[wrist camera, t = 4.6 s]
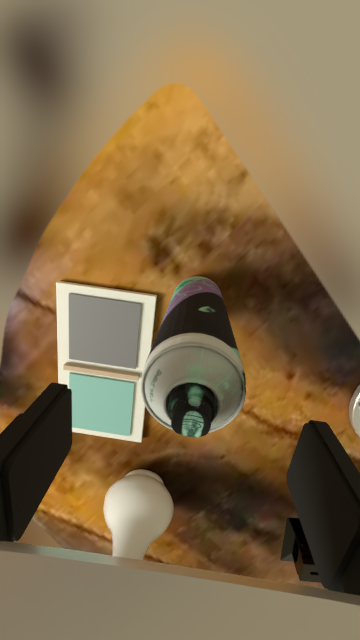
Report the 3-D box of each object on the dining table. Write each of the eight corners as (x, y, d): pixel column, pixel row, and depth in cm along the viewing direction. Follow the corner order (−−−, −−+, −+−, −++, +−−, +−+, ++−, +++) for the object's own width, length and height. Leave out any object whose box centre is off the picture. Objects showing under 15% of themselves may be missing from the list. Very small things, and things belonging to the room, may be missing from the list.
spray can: (211, 267, 29) (229, 347, 10) (229, 313, 31) (274, 456, 12) (164, 287, 30) (103, 392, 11) (184, 330, 32) (159, 487, 13)
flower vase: (64, 469, 40) (-129, 818, 17) (182, 436, 37) (147, 819, 13) (105, 529, 44) (-6, 886, 20) (216, 505, 40) (236, 901, 17)
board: (157, 294, 31) (154, 298, 29) (142, 438, 37) (139, 446, 36) (59, 280, 31) (52, 283, 29) (62, 425, 38) (56, 433, 36)
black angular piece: (318, 566, 44) (331, 603, 39) (271, 562, 44) (278, 598, 40) (332, 509, 40) (348, 544, 35) (280, 506, 40) (290, 540, 36)
